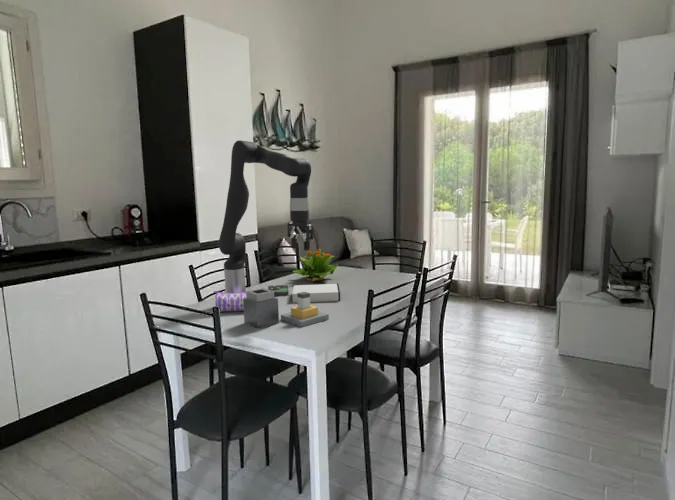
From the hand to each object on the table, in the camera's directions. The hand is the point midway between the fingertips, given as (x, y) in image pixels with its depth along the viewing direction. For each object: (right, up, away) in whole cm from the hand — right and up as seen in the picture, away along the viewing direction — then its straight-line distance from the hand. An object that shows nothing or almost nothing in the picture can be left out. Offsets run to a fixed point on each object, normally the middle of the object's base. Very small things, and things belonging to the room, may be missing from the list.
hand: (300, 249), depth 184 cm
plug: (+1, -27, +2) cm, 27 cm away
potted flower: (+2, -18, +79) cm, 80 cm away
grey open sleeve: (-16, -30, -1) cm, 34 cm away
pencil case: (-28, -28, +18) cm, 43 cm away
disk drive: (-15, -23, +49) cm, 56 cm away
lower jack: (+2, -29, +2) cm, 29 cm away
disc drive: (+5, -24, +38) cm, 45 cm away
